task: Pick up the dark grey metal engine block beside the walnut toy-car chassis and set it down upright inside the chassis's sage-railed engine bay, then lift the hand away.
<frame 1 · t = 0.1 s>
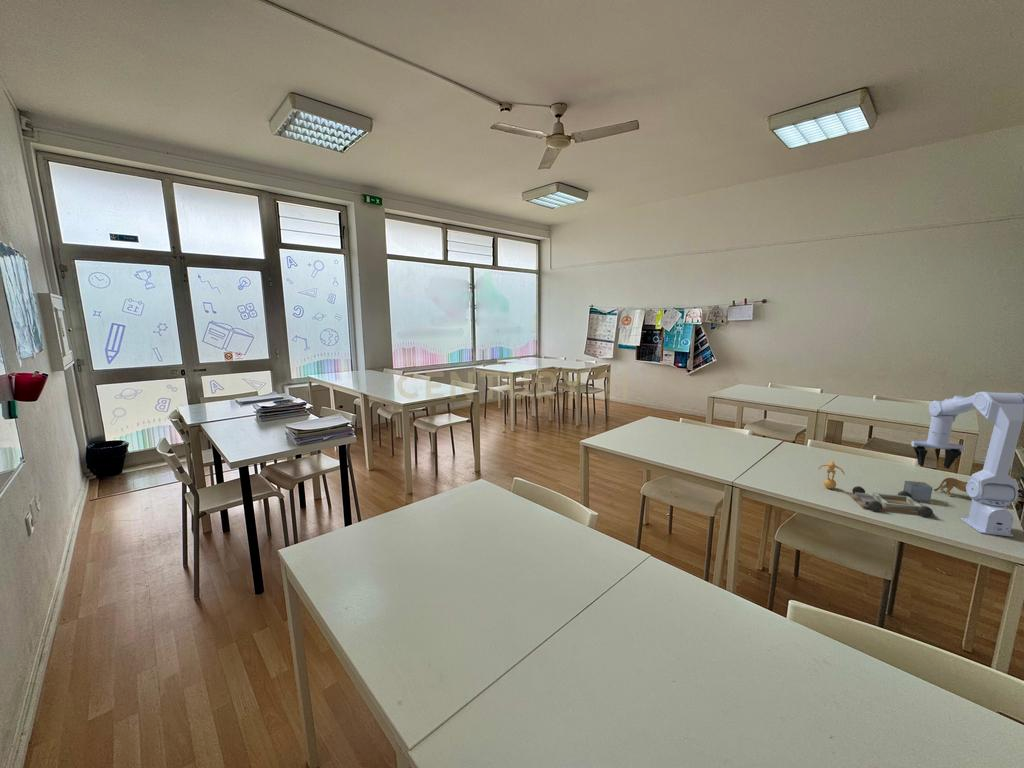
hand: (933, 466, 159), 10 cm above the table, tool pointing down, fingers open, 7 cm apart
lion figurine: (962, 498, 155), on the table
toy car chassis: (889, 505, 149), on the table
engine block: (915, 499, 154), on the table
figurine: (828, 489, 163), on the table
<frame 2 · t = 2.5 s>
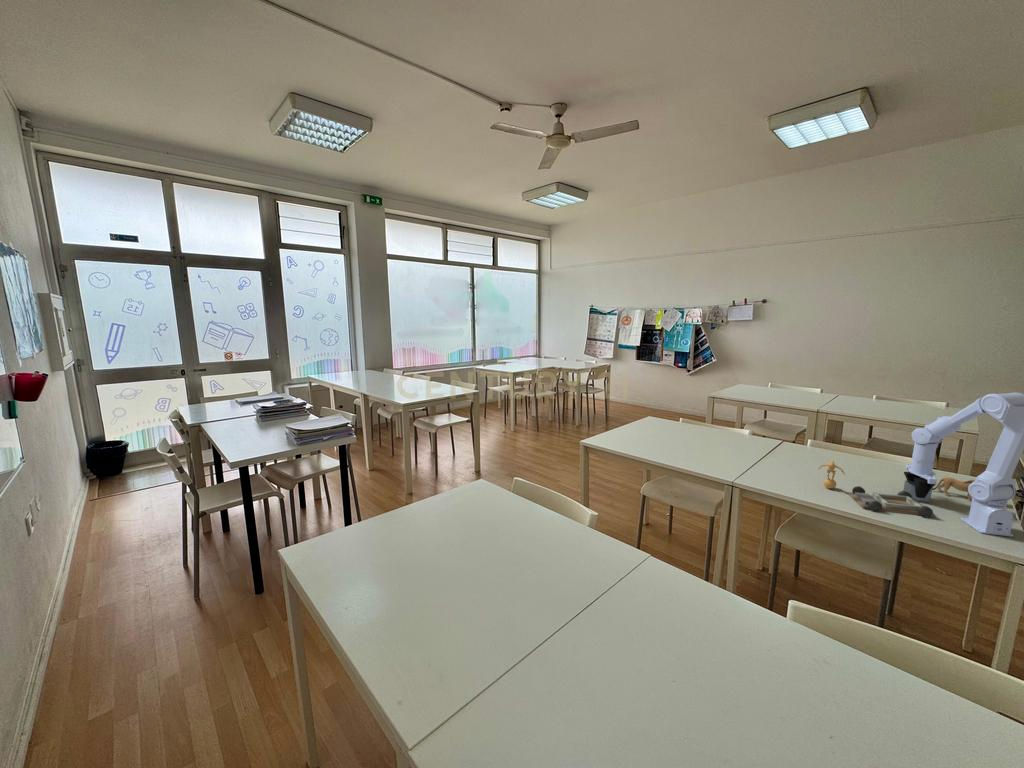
hand: (916, 494, 154), 2 cm above the table, tool pointing down, fingers closed on engine block, 4 cm apart
engine block: (915, 498, 154), on the table, touching gripper
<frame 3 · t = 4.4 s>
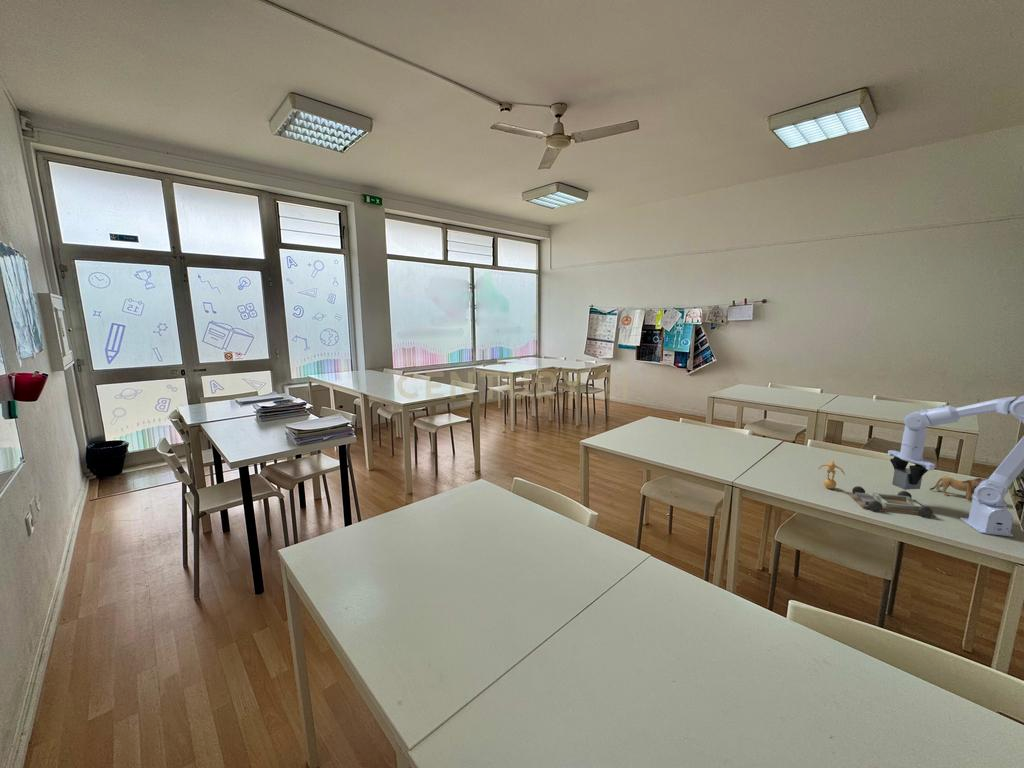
hand: (906, 481, 149), 9 cm above the table, tool pointing down, fingers closed on engine block, 4 cm apart
engine block: (905, 486, 149), point 7 cm above the table, touching gripper
when the fingers open (4 cm above the table, at t = 6.5 s): engine block stays where it is, resting on toy car chassis.
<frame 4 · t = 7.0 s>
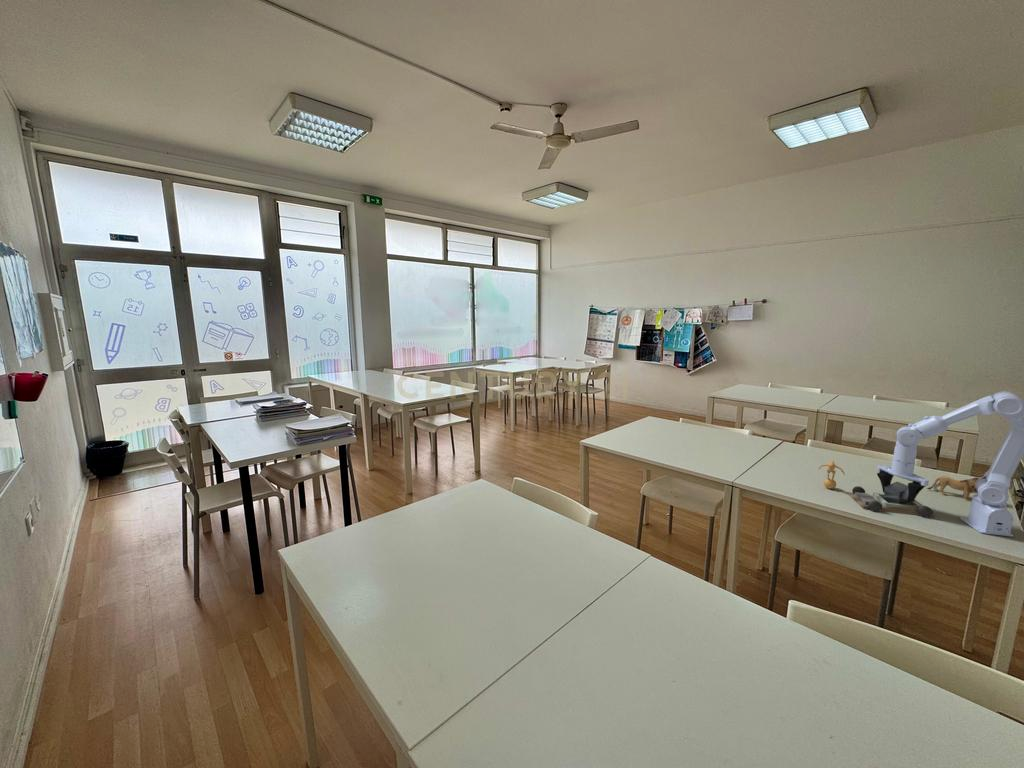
hand: (897, 496, 148), 4 cm above the table, tool pointing down, fingers open, 7 cm apart
engine block: (897, 501, 149), point 2 cm above the table, tilted 13°, touching toy car chassis
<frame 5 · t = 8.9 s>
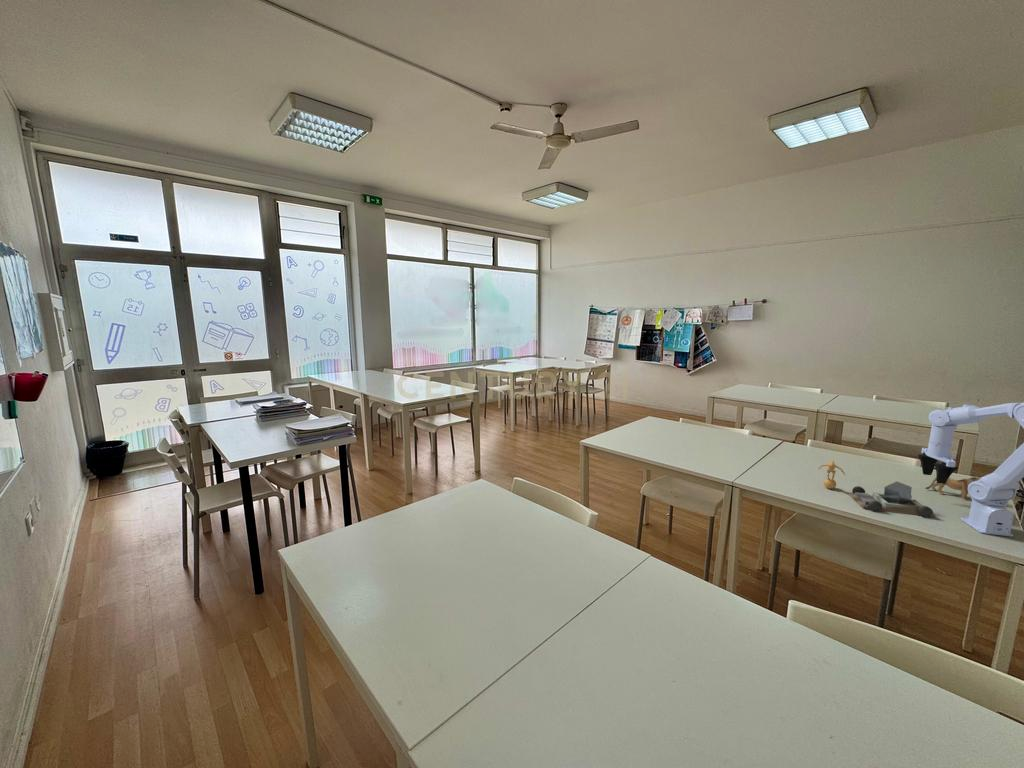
hand: (933, 478, 149), 9 cm above the table, tool pointing down, fingers open, 7 cm apart
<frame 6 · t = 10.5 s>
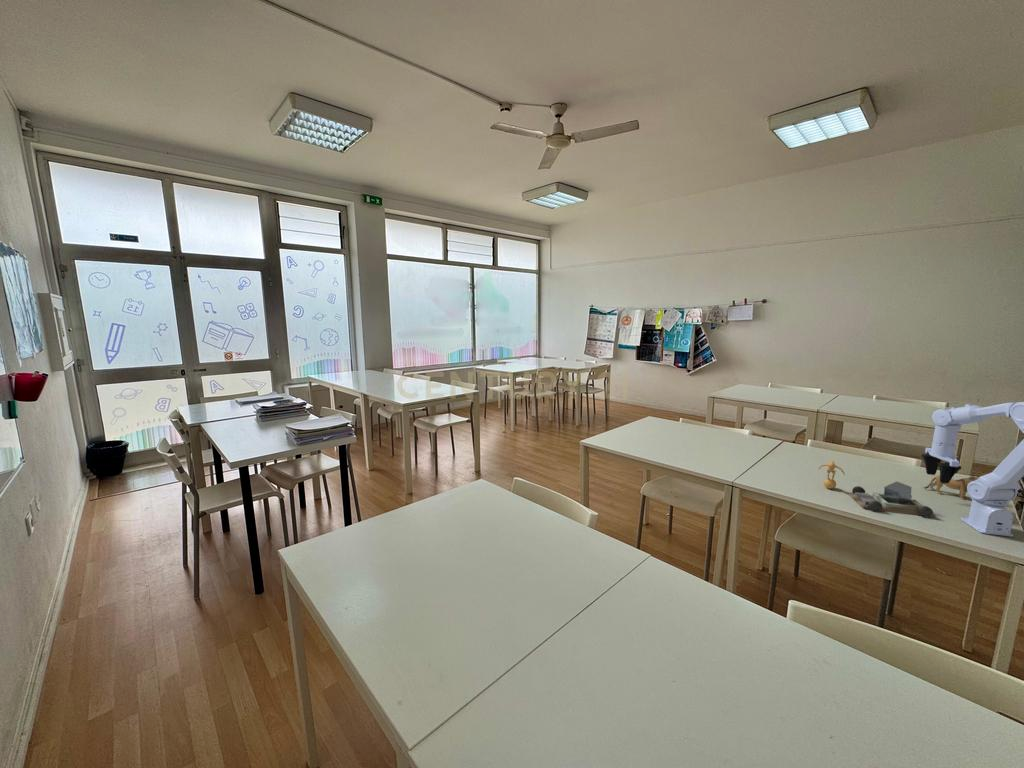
hand: (937, 478, 149), 9 cm above the table, tool pointing down, fingers open, 7 cm apart
at the end: engine block 0.3 cm from the target spot on the toy car chassis, point 1.8 cm above the toy car chassis's base; engine block tilted 14°; the gripper is holding nothing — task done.
